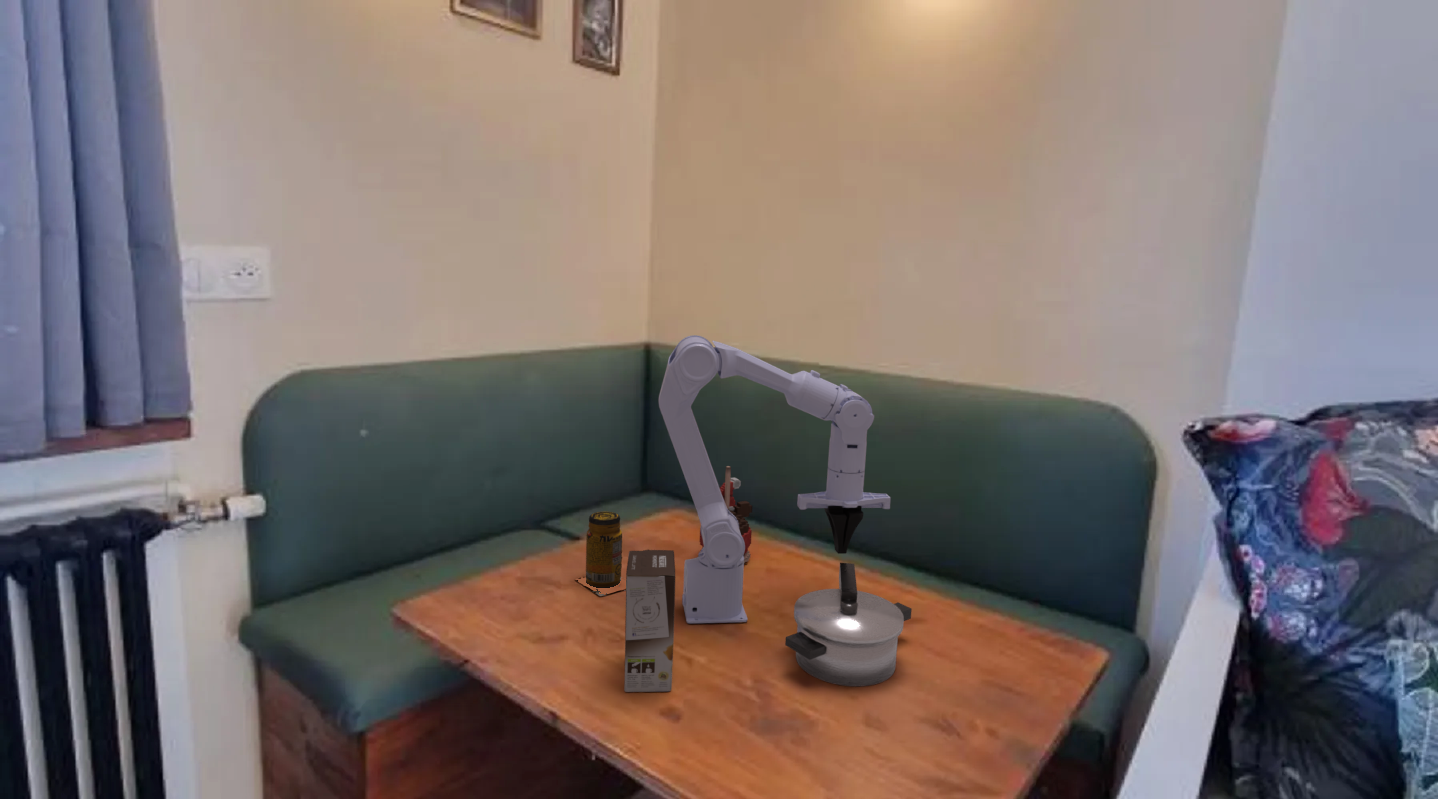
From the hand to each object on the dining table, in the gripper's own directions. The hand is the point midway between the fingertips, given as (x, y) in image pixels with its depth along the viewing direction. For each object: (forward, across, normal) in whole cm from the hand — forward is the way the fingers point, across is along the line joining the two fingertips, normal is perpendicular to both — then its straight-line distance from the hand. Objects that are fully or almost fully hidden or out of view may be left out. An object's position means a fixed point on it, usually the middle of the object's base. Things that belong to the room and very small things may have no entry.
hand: (840, 551), depth 125 cm
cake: (+11, -15, +23) cm, 29 cm away
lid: (+4, -2, -13) cm, 14 cm away
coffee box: (+11, -31, -17) cm, 37 cm away
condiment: (+11, -37, +13) cm, 41 cm away
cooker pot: (+10, -2, -14) cm, 18 cm away
